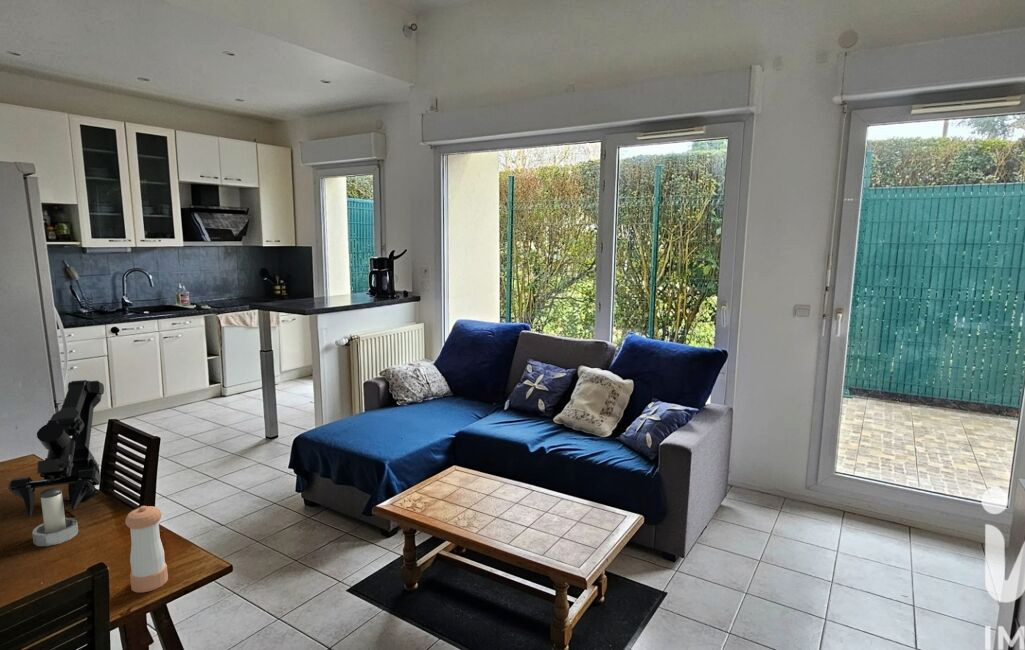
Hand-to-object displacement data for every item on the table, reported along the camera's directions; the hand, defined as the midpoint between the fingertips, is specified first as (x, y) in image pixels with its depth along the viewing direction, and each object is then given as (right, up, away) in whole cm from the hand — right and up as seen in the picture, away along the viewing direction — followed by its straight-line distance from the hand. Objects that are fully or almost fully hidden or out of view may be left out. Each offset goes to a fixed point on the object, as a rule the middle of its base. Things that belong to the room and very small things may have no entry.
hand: (51, 512), depth 147 cm
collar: (-1, -7, +2) cm, 8 cm away
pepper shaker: (+37, -11, -16) cm, 42 cm away
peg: (-1, -7, +3) cm, 8 cm away
